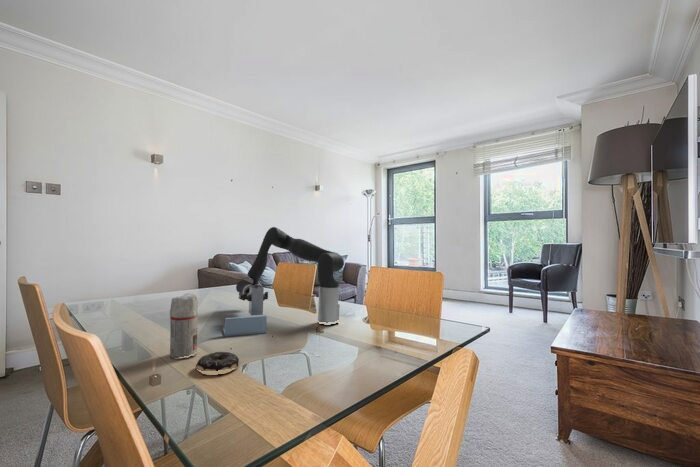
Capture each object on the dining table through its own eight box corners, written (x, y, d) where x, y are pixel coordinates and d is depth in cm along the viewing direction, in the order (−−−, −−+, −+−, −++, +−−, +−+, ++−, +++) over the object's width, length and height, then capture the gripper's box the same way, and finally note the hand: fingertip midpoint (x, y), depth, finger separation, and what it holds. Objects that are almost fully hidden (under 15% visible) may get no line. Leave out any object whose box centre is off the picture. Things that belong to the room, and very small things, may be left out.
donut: (209, 361, 105) (209, 348, 105) (245, 364, 103) (246, 351, 103) (188, 375, 94) (189, 361, 94) (228, 379, 92) (229, 364, 92)
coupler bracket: (261, 326, 146) (262, 311, 146) (265, 332, 137) (266, 316, 137) (222, 329, 139) (223, 313, 139) (224, 336, 130) (225, 318, 130)
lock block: (259, 311, 154) (260, 282, 154) (262, 314, 148) (263, 284, 148) (248, 312, 152) (249, 282, 152) (251, 315, 146) (252, 284, 146)
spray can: (185, 361, 103) (188, 297, 103) (162, 358, 105) (165, 295, 105) (202, 352, 111) (205, 293, 112) (181, 350, 113) (184, 291, 113)
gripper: (236, 285, 160) (240, 291, 145) (266, 284, 166) (273, 289, 151) (235, 301, 160) (240, 308, 145) (265, 299, 166) (273, 306, 151)
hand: (257, 298), depth 148 cm, fingers closed on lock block, 5 cm apart
